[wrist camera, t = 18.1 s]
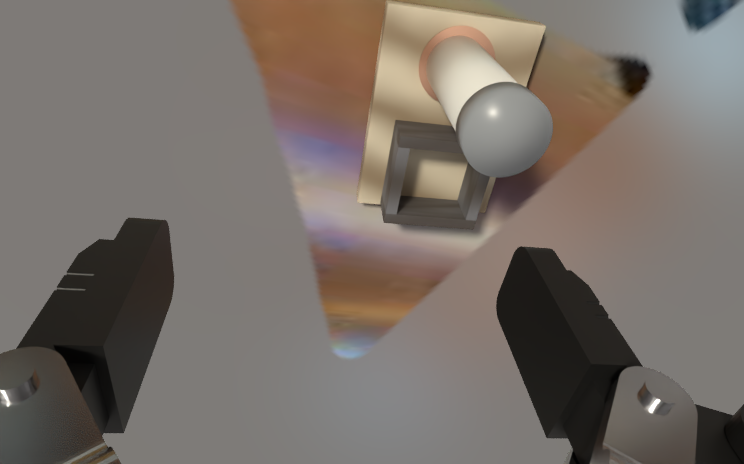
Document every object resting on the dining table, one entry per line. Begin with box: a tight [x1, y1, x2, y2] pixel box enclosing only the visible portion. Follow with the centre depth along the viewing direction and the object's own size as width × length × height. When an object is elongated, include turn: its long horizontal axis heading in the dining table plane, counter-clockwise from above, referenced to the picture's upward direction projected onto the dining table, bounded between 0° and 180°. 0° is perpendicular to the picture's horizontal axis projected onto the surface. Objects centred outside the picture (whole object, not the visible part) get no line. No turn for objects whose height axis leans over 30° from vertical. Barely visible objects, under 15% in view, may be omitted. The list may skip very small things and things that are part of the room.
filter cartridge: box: [426, 35, 553, 177], centre depth 35 cm, size 5×5×14 cm
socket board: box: [357, 0, 546, 229], centre depth 43 cm, size 18×13×5 cm
